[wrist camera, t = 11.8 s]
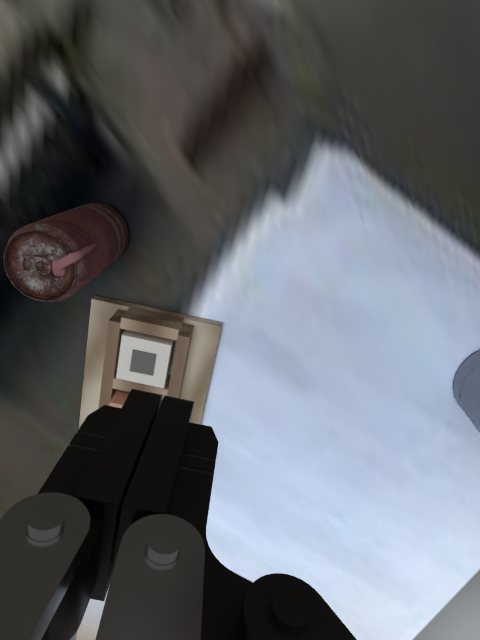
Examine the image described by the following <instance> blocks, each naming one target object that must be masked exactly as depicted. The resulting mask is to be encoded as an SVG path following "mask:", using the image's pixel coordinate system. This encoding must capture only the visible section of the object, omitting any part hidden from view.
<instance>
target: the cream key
mask: <svg viewBox="0 0 480 640" xmlns="http://www.w3.org/2000/svg"><path fill="white" fill-rule="evenodd" d="M174 343H175V340H172V339H167V338H163V337H158V336H153V335H149V334H144V333H139V332H135V331H130V330H125V331H124V333H123V334H122V337H121V345H120V352H119V360H118V368H117V376H116V379H121V380H126V381H131V382H135V383H140V384H145V385H150V386H155V387H159V388H164V387H165V384H166V382H167V379H168V376H169V371H170V365H171V359H172V354H173V348H174Z"/></svg>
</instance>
